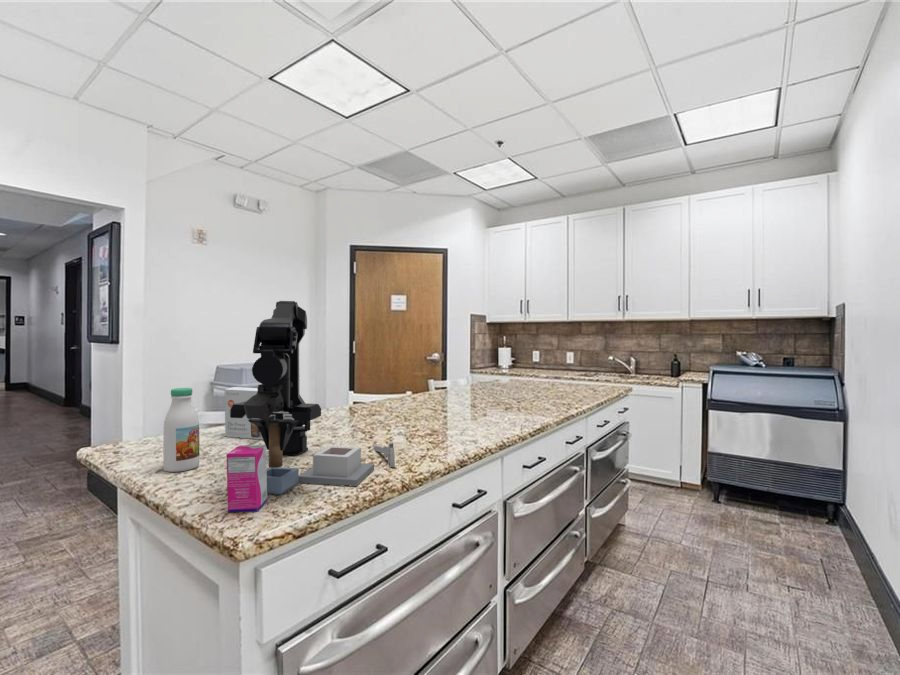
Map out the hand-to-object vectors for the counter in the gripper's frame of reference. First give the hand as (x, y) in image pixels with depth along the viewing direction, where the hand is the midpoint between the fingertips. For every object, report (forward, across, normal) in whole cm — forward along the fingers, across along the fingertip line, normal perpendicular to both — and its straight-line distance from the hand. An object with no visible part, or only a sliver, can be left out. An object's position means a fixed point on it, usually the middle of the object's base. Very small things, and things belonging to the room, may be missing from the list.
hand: (275, 449), depth 96 cm
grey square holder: (+8, +10, +10) cm, 16 cm away
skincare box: (+9, -31, +41) cm, 52 cm away
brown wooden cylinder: (+4, 0, 0) cm, 4 cm away
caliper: (+9, +16, +27) cm, 33 cm away
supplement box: (+9, 0, -10) cm, 13 cm away
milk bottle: (+9, -31, +9) cm, 33 cm away
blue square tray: (+8, 0, 0) cm, 9 cm away
